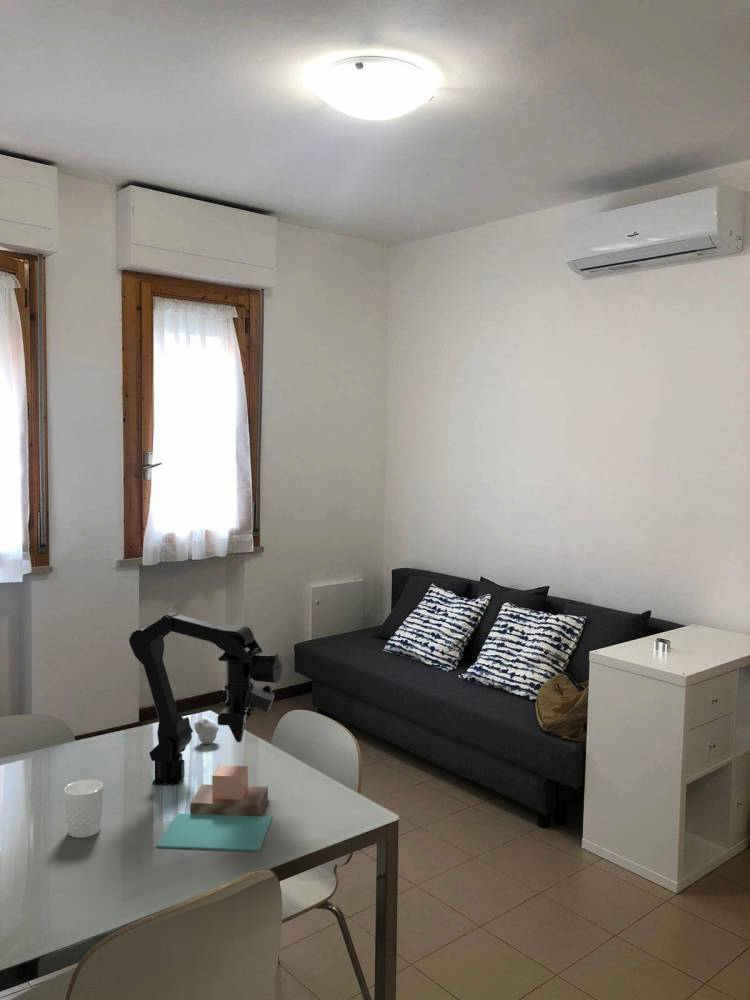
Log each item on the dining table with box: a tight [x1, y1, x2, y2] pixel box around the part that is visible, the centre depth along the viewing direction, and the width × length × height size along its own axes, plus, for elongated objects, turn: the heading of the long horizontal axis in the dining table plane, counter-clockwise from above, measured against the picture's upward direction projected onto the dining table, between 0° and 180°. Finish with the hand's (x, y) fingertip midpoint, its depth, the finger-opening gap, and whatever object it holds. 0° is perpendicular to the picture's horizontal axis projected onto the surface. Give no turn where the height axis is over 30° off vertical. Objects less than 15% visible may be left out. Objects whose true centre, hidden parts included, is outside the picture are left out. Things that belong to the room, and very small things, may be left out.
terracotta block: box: [211, 765, 249, 800], centre depth 195 cm, size 7×6×6 cm
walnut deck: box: [189, 784, 269, 816], centre depth 195 cm, size 16×10×3 cm, turn 86°
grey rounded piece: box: [193, 718, 220, 745], centre depth 234 cm, size 6×7×7 cm
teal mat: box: [155, 812, 273, 852], centre depth 182 cm, size 22×15×1 cm
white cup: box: [64, 779, 104, 839], centre depth 182 cm, size 8×8×10 cm
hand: (239, 741), depth 204 cm, fingers closed
